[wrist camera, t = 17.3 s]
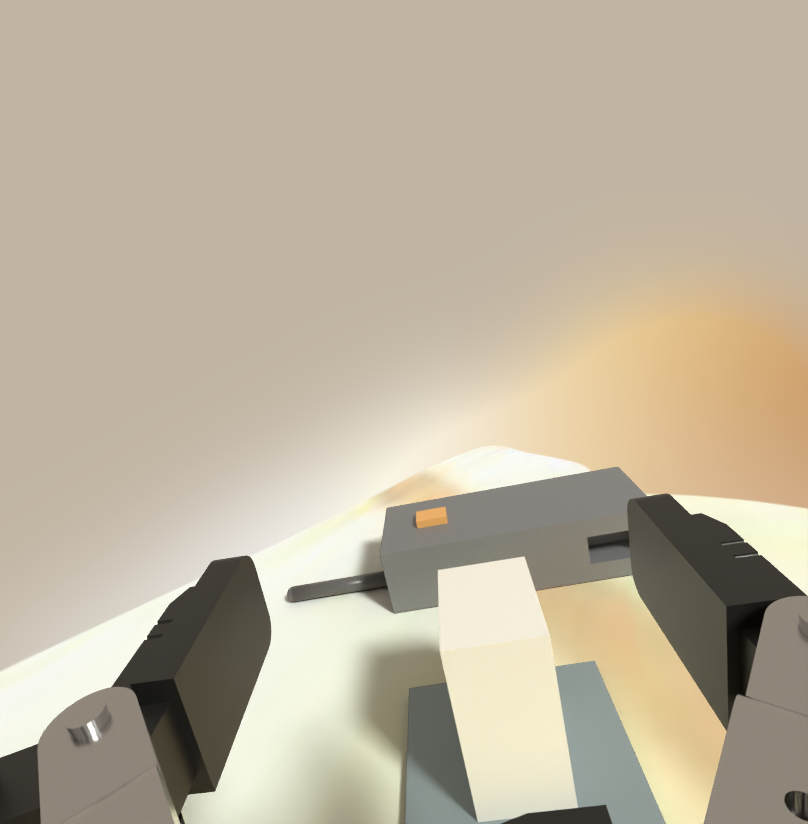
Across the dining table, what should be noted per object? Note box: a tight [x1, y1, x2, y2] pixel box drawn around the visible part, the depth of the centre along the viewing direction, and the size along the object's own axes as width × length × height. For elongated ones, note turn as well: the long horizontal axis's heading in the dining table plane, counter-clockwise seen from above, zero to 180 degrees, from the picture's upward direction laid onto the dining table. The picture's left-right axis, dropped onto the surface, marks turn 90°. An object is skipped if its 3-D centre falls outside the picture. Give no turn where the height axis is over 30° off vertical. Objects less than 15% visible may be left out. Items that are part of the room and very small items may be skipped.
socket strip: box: [287, 467, 647, 613], centre depth 44 cm, size 29×8×6 cm, turn 88°
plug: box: [438, 556, 578, 822], centre depth 27 cm, size 4×9×9 cm, turn 177°
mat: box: [405, 661, 666, 824], centre depth 27 cm, size 11×11×1 cm
